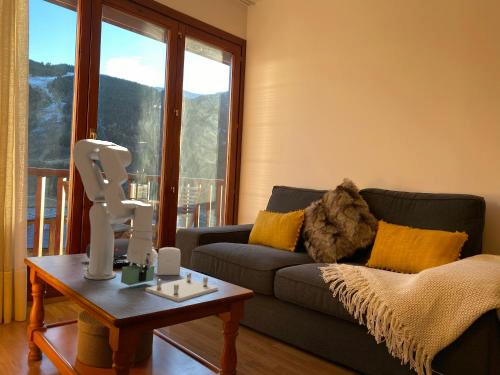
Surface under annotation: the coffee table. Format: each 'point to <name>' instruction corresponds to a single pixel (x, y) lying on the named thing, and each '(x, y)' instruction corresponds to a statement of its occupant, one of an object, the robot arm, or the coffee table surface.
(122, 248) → the bluetooth speaker
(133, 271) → the board block
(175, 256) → the photo printer
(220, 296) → the coffee table surface
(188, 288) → the standoff plate
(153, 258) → the spinning top
